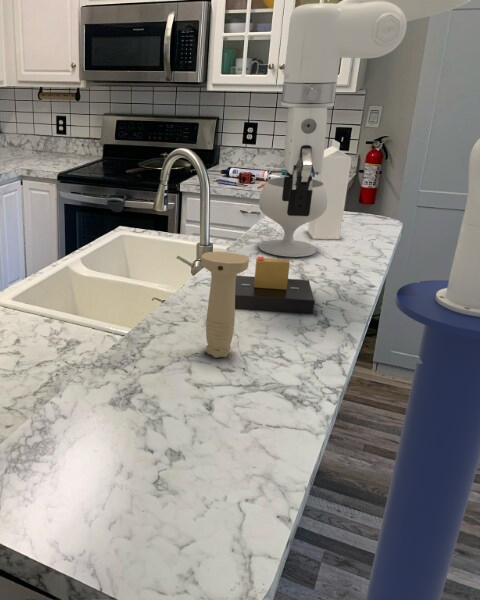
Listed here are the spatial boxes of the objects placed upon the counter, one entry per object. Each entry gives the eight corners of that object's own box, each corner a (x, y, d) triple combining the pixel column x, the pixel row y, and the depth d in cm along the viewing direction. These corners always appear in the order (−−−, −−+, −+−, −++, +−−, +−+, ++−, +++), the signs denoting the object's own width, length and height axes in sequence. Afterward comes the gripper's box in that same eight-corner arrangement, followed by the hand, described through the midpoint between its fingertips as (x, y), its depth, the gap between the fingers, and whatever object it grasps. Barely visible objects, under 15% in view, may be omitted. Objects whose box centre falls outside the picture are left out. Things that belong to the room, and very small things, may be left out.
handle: (201, 343, 94) (206, 249, 88) (243, 351, 91) (252, 255, 85) (192, 356, 90) (197, 259, 84) (235, 365, 87) (244, 265, 81)
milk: (333, 232, 148) (347, 139, 139) (339, 239, 142) (354, 143, 134) (306, 232, 148) (319, 139, 140) (312, 239, 143) (325, 142, 135)
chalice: (252, 239, 143) (258, 175, 138) (314, 241, 141) (323, 176, 135) (257, 258, 131) (264, 188, 125) (326, 261, 128) (336, 190, 123)
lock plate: (307, 292, 112) (309, 279, 111) (312, 314, 103) (314, 299, 102) (229, 287, 115) (230, 274, 114) (227, 307, 106) (228, 293, 105)
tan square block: (285, 285, 108) (289, 257, 106) (286, 289, 107) (290, 261, 105) (253, 283, 110) (256, 255, 108) (254, 287, 108) (256, 259, 106)
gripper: (345, 99, 83) (327, 223, 89) (326, 91, 98) (312, 196, 105) (287, 99, 84) (274, 220, 91) (277, 91, 100) (267, 195, 106)
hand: (294, 207), depth 98 cm, fingers open, 9 cm apart
